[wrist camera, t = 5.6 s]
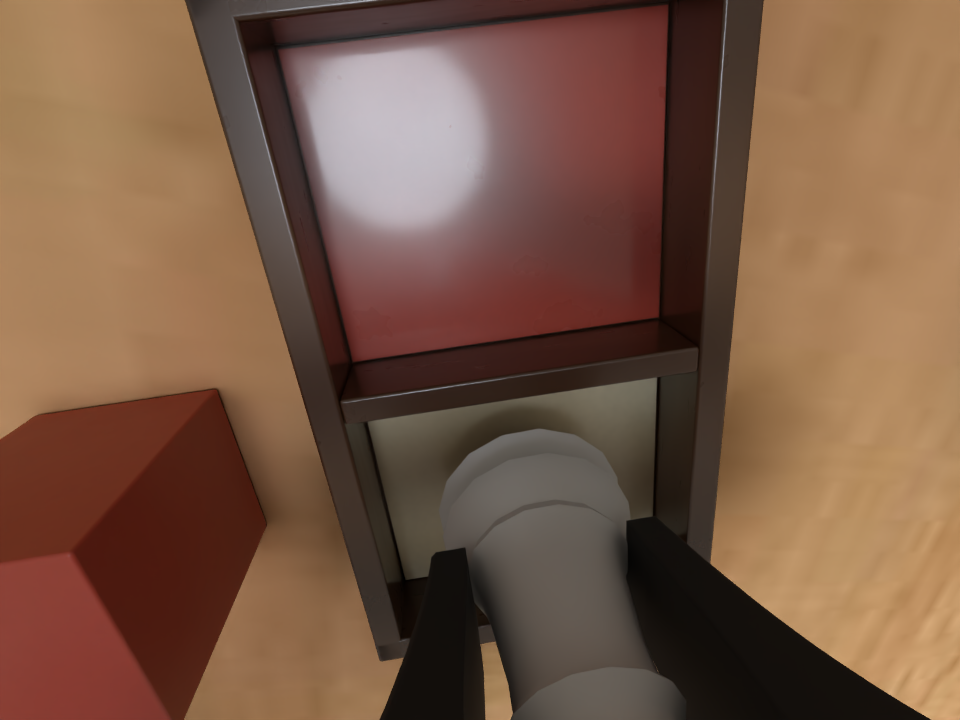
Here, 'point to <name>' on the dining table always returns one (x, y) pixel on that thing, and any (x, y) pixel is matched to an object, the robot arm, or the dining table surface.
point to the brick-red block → (119, 556)
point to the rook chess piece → (555, 578)
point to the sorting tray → (493, 242)
